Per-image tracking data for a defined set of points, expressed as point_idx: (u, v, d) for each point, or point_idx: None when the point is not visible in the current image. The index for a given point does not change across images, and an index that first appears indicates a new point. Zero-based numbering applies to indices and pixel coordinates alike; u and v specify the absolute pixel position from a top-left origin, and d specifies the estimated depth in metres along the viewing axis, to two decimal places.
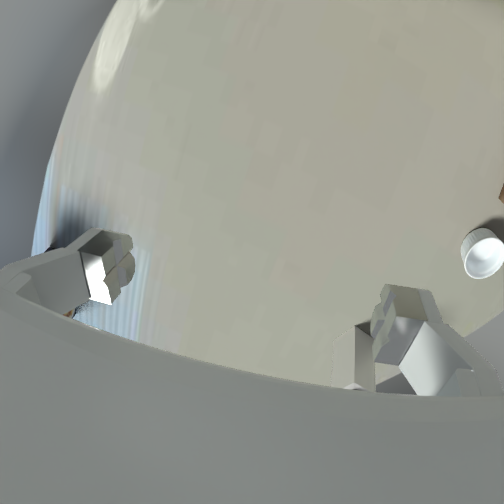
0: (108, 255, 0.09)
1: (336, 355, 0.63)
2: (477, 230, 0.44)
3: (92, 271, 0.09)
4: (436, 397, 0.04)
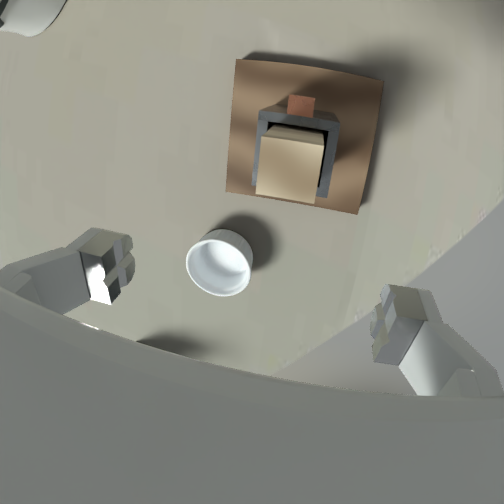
0: (107, 255, 0.09)
1: None
2: (209, 232, 0.42)
3: (92, 271, 0.09)
4: (436, 397, 0.04)
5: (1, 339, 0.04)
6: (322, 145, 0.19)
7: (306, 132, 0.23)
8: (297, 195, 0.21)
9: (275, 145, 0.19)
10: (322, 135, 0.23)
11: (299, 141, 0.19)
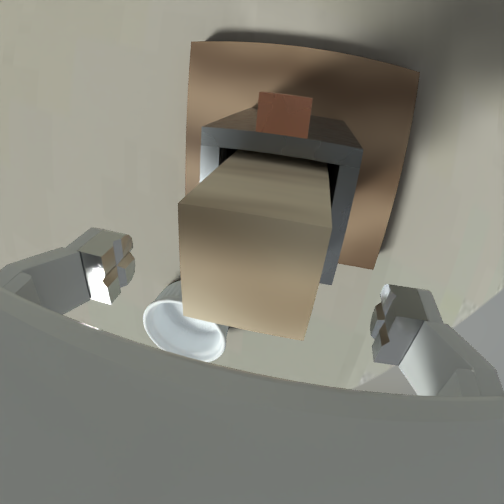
0: (108, 255, 0.09)
1: None
2: (171, 284, 0.31)
3: (92, 271, 0.09)
4: (436, 397, 0.04)
5: (1, 339, 0.04)
6: (328, 224, 0.08)
7: (295, 169, 0.12)
8: (268, 325, 0.10)
9: (212, 224, 0.08)
10: (327, 175, 0.11)
11: (270, 214, 0.08)
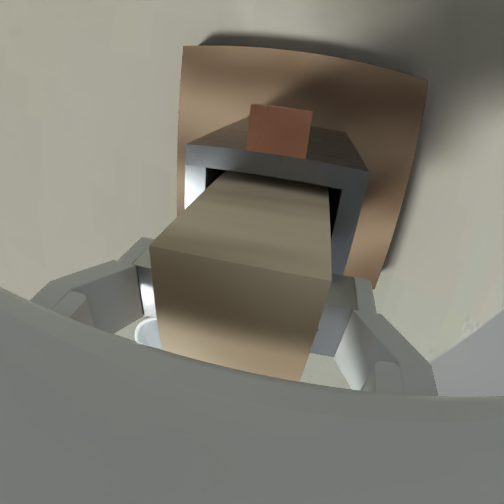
0: None
1: None
2: None
3: (150, 286, 0.08)
4: (436, 397, 0.04)
5: (1, 339, 0.04)
6: (327, 275, 0.06)
7: (290, 194, 0.10)
8: None
9: (188, 272, 0.07)
10: (327, 202, 0.10)
11: (257, 262, 0.07)
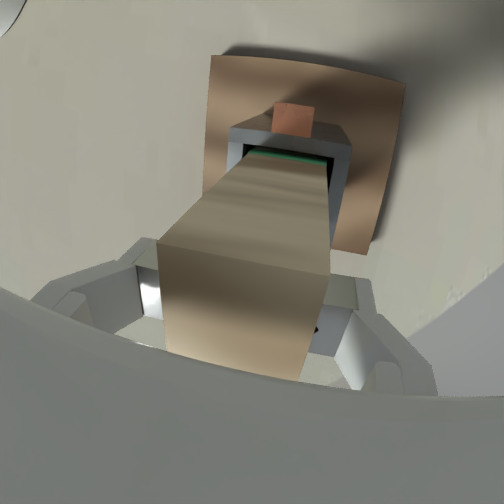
0: None
1: None
2: None
3: (150, 286, 0.08)
4: (436, 397, 0.04)
5: (1, 339, 0.04)
6: (325, 270, 0.07)
7: (291, 194, 0.11)
8: (258, 370, 0.09)
9: (194, 268, 0.07)
10: (326, 202, 0.10)
11: (260, 258, 0.07)
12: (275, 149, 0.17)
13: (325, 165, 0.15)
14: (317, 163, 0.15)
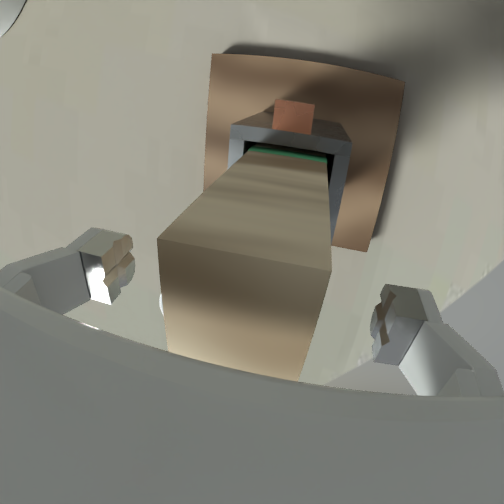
0: (108, 255, 0.09)
1: None
2: None
3: (92, 271, 0.09)
4: (436, 397, 0.04)
5: (1, 339, 0.04)
6: (327, 265, 0.07)
7: (292, 190, 0.11)
8: (259, 367, 0.09)
9: (195, 263, 0.07)
10: (327, 198, 0.10)
11: (261, 253, 0.07)
12: (275, 146, 0.17)
13: (325, 162, 0.15)
14: (317, 160, 0.15)
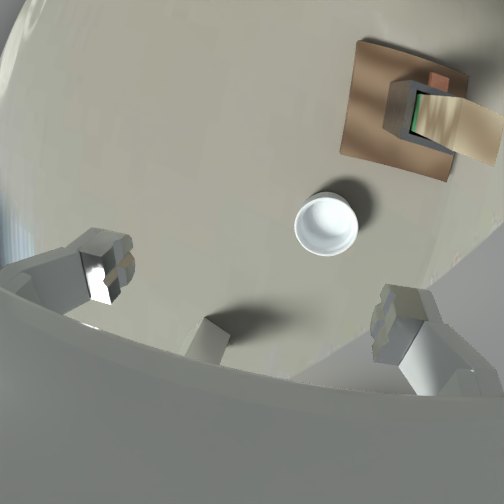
0: (108, 255, 0.09)
1: (182, 347, 0.59)
2: (315, 194, 0.44)
3: (92, 271, 0.09)
4: (436, 397, 0.04)
5: (1, 339, 0.04)
6: None
7: None
8: (483, 157, 0.17)
9: (472, 108, 0.16)
10: None
11: (488, 109, 0.16)
12: None
13: None
14: None
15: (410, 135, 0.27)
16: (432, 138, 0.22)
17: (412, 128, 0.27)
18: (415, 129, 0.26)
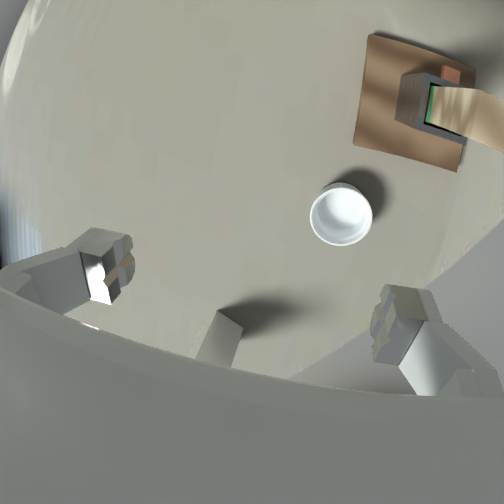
0: (108, 255, 0.09)
1: (195, 341, 0.59)
2: (329, 185, 0.44)
3: (92, 271, 0.09)
4: (436, 397, 0.04)
5: (1, 339, 0.04)
6: None
7: None
8: (498, 145, 0.17)
9: (488, 99, 0.16)
10: None
11: (501, 100, 0.16)
12: None
13: None
14: None
15: (424, 125, 0.27)
16: (448, 128, 0.22)
17: (426, 119, 0.27)
18: (430, 120, 0.26)
